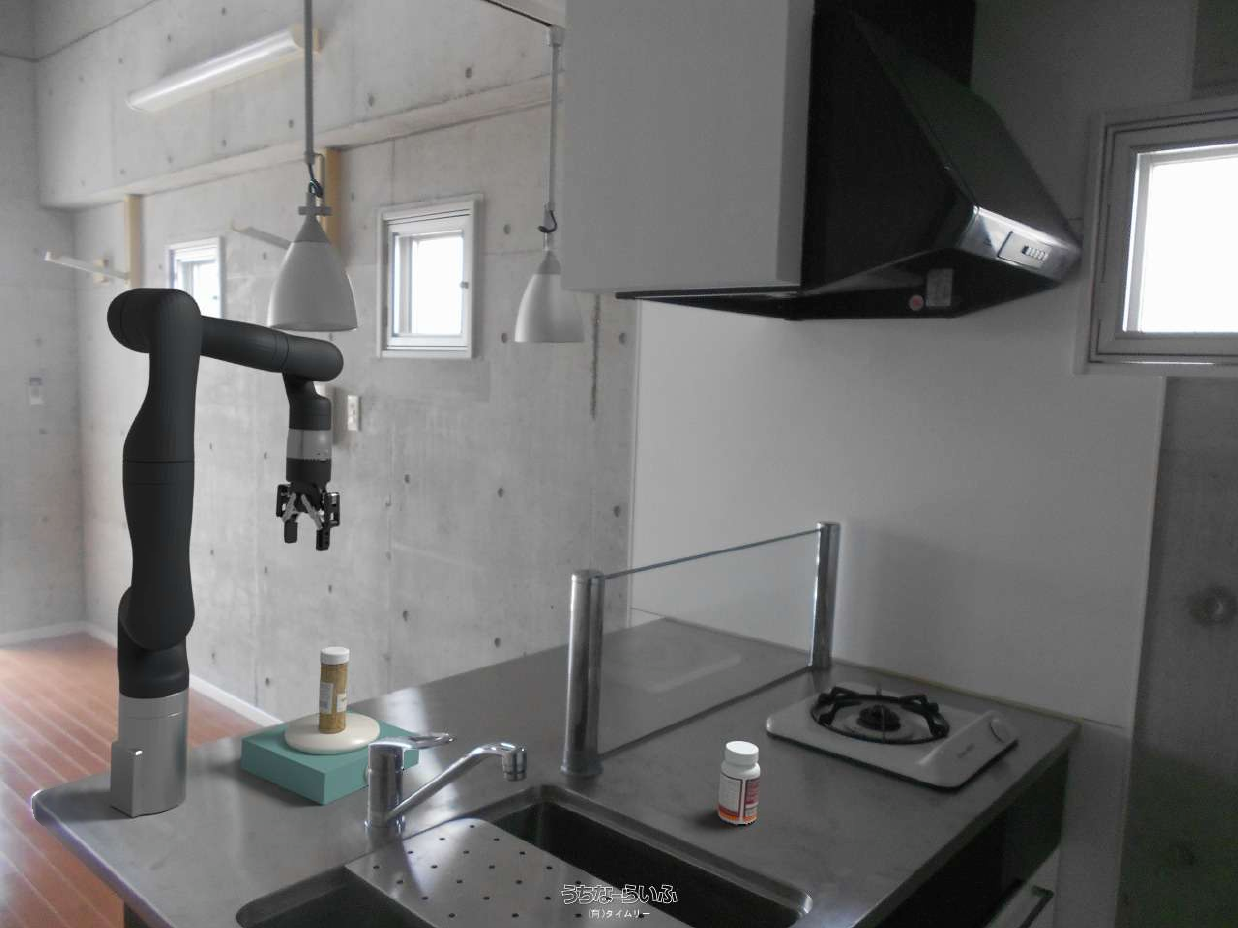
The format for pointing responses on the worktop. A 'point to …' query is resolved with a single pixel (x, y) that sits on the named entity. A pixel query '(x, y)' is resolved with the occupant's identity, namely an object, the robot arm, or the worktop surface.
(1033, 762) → the worktop surface
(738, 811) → the pill bottle
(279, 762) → the scale
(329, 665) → the sprinkles bottle
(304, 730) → the scale pan
